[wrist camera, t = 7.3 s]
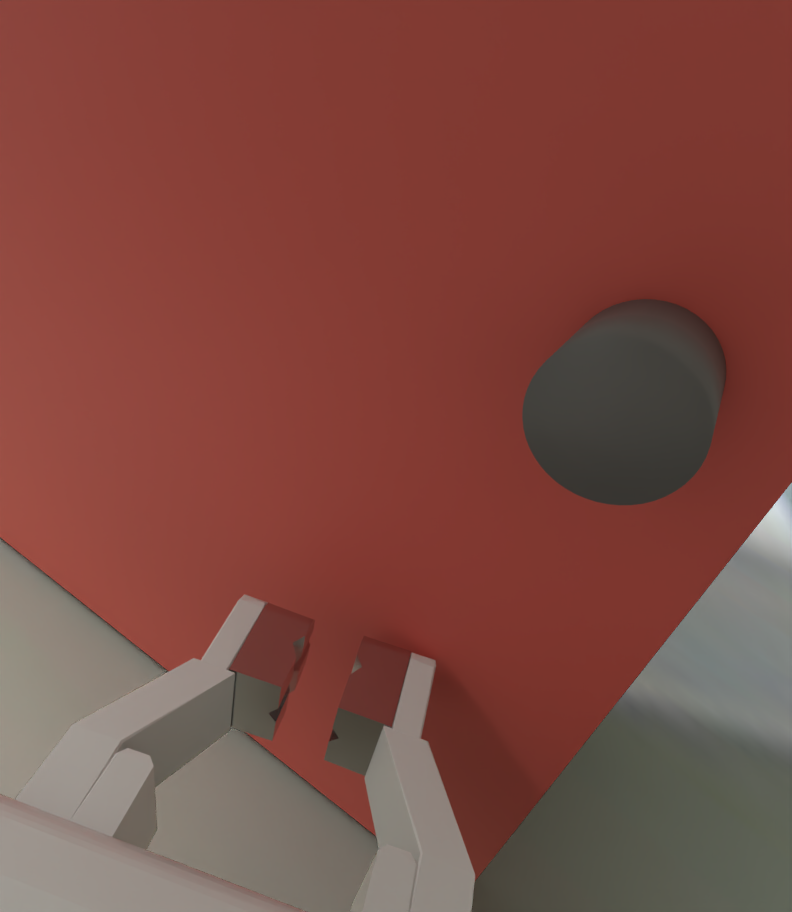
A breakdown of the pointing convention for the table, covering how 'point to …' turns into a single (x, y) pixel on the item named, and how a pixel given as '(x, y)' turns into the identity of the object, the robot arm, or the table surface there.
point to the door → (399, 341)
